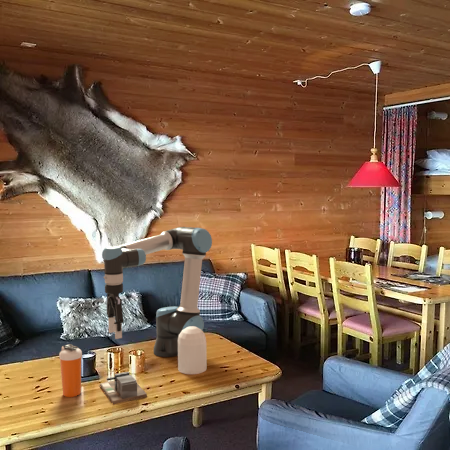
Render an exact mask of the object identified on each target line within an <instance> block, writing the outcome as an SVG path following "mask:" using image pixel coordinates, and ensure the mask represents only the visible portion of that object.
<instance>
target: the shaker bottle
mask: <svg viewBox="0 0 450 450" xmlns="http://www.w3.org/2000/svg"><path fill="white" fill-rule="evenodd" d="M82 357H83V351H82V349H80V348H79V347H78V346H77V345H73V344H71V343H69V344H65V345H62V346H61V350H60V351H59V358H58V359H59V363H60V364H59V365H60V374H61V375H60V376H61V387H62V395H63V397H65V398H74V397H77V395H78V396H79V395H81V393H82Z"/></svg>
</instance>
